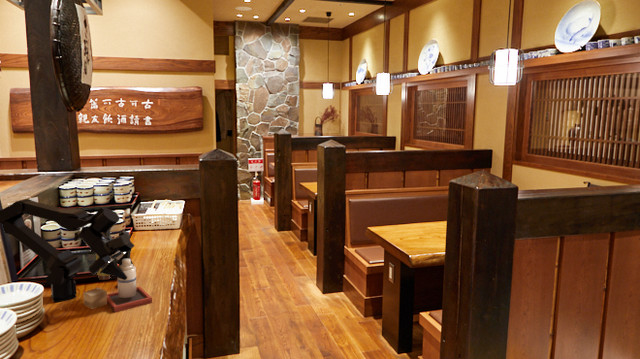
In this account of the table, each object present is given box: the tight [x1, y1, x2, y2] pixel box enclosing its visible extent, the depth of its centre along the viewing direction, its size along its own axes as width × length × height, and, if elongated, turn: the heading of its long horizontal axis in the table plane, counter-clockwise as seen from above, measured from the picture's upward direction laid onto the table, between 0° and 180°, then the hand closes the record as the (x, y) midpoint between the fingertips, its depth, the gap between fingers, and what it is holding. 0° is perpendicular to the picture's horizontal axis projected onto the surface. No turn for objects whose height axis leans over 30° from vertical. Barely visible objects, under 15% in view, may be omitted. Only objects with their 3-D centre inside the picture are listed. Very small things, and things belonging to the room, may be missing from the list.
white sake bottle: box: [116, 258, 137, 298], centre depth 142 cm, size 6×6×12 cm
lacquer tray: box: [107, 286, 153, 313], centre depth 143 cm, size 12×12×2 cm
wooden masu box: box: [82, 287, 108, 310], centre depth 140 cm, size 5×5×4 cm
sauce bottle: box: [95, 228, 114, 281], centre depth 161 cm, size 7×6×20 cm
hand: (130, 275), depth 142 cm, fingers closed on white sake bottle, 5 cm apart
